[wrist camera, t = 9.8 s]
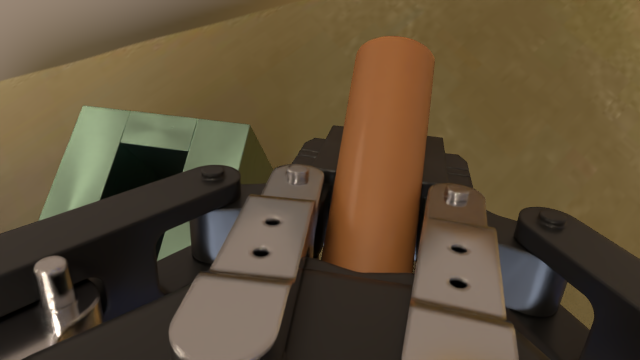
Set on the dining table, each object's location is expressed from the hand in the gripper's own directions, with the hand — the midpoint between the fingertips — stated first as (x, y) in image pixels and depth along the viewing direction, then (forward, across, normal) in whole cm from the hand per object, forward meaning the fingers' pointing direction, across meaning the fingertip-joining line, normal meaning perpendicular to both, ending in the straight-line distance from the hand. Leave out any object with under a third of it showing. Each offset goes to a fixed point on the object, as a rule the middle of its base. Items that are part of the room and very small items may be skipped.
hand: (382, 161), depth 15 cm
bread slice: (+2, 0, +5) cm, 6 cm away
